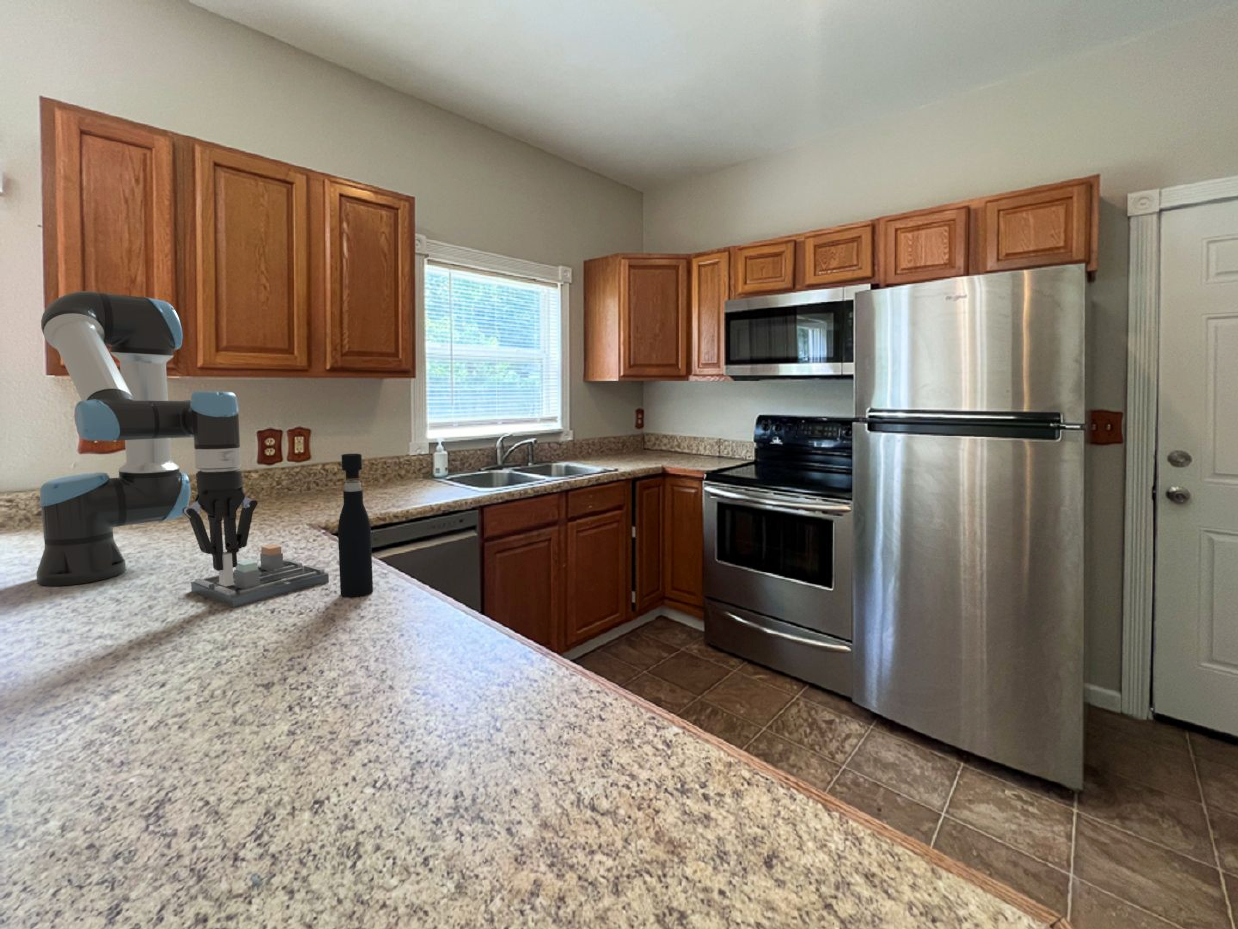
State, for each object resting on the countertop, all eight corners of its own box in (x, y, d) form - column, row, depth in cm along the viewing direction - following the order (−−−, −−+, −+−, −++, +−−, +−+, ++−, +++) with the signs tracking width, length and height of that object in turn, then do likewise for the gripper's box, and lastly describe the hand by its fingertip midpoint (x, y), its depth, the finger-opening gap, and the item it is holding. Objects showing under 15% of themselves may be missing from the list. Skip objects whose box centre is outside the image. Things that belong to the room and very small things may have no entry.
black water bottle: (364, 598, 122) (359, 456, 119) (334, 597, 122) (328, 455, 119) (378, 588, 128) (373, 453, 125) (349, 588, 129) (343, 452, 125)
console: (191, 591, 125) (190, 578, 125) (285, 569, 142) (285, 557, 142) (233, 608, 116) (232, 594, 115) (328, 582, 132) (328, 570, 132)
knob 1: (235, 586, 122) (233, 562, 121) (250, 583, 124) (249, 559, 124) (244, 590, 120) (243, 565, 119) (260, 586, 122) (258, 562, 122)
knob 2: (261, 568, 135) (259, 546, 134) (274, 565, 137) (273, 544, 137) (270, 571, 133) (268, 549, 132) (283, 568, 135) (282, 546, 134)
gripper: (189, 474, 108) (198, 596, 111) (263, 467, 119) (269, 579, 122) (172, 471, 112) (181, 589, 115) (245, 465, 123) (251, 573, 126)
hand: (226, 584), depth 118 cm, fingers closed
